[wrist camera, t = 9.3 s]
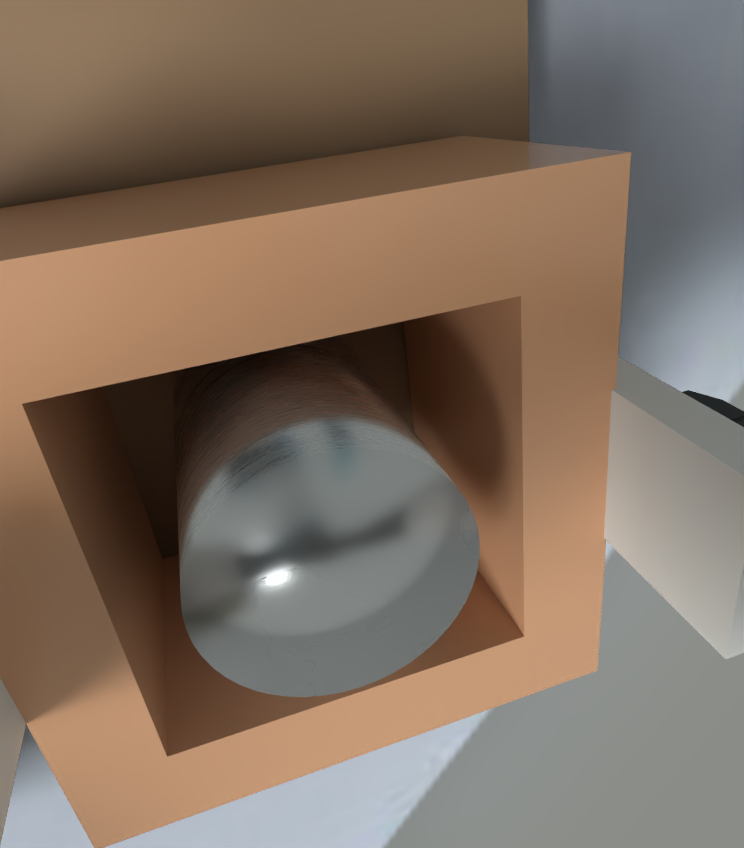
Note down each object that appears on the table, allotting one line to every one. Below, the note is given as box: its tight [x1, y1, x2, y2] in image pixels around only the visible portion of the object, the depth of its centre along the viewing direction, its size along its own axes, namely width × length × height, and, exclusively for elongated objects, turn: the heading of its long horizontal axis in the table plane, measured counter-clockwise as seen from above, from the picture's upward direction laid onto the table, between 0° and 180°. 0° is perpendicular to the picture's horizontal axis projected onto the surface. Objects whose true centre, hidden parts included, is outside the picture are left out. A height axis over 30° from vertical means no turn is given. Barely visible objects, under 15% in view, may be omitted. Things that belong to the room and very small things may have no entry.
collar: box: [0, 136, 631, 848], centre depth 11 cm, size 9×9×5 cm
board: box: [0, 0, 529, 559], centre depth 12 cm, size 18×12×1 cm, turn 8°
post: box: [173, 335, 480, 697], centre depth 11 cm, size 4×4×6 cm
